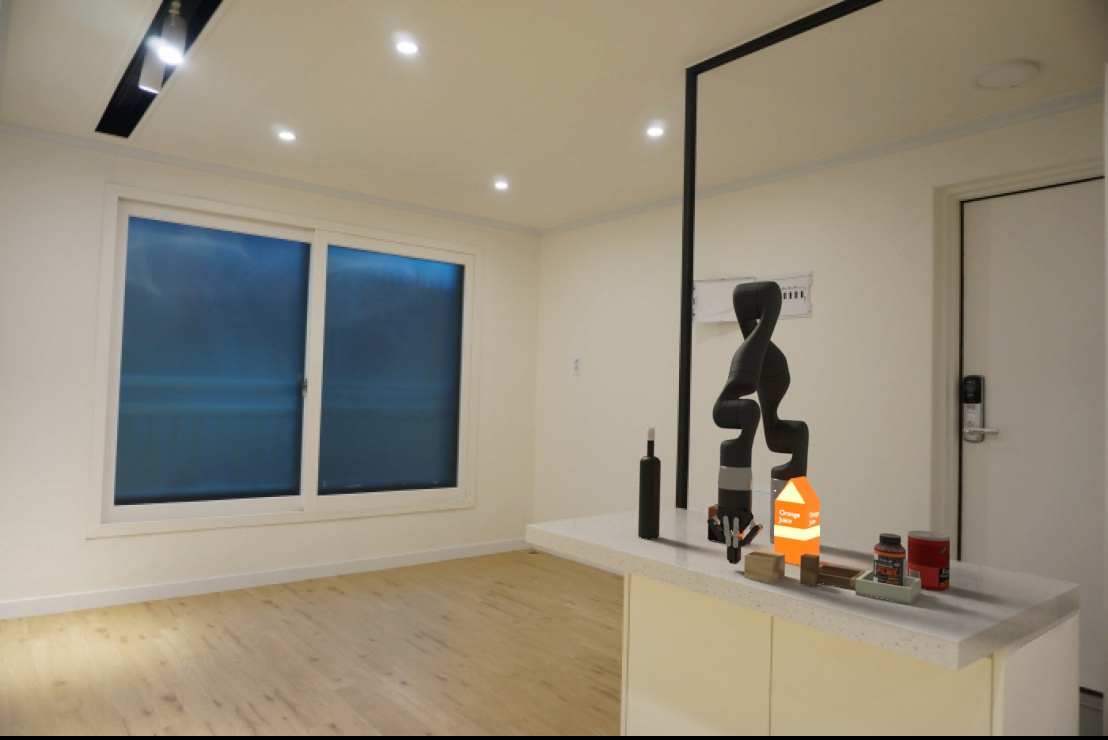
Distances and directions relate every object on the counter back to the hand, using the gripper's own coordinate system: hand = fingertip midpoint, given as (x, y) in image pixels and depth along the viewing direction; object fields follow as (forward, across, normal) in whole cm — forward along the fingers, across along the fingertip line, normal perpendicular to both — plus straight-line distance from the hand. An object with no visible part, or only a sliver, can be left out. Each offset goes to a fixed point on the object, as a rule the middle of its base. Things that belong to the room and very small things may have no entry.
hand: (733, 563), depth 158 cm
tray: (+2, -32, -4) cm, 32 cm away
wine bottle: (+2, +33, -18) cm, 37 cm away
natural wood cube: (+2, -8, +1) cm, 8 cm away
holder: (+2, -20, -7) cm, 22 cm away
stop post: (+2, -17, 0) cm, 17 cm away
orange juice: (+2, -7, -20) cm, 21 cm away
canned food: (+2, -36, -17) cm, 40 cm away
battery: (+2, +17, -29) cm, 33 cm away
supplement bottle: (+1, -32, -4) cm, 32 cm away
